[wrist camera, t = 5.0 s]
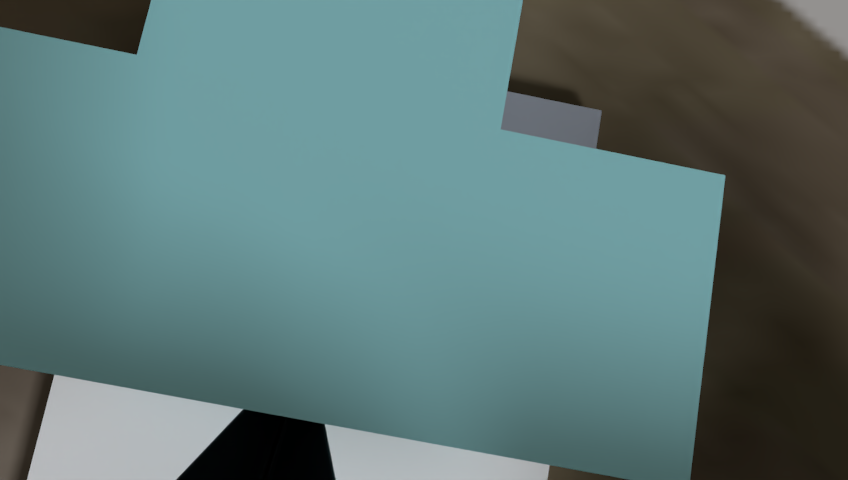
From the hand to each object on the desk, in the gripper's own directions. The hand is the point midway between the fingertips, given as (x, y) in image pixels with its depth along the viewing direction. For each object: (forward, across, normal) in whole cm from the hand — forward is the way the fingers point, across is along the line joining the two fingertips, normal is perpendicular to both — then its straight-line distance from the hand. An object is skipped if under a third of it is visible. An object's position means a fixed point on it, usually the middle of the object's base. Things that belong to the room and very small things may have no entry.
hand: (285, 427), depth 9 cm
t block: (+7, 0, +2) cm, 7 cm away
